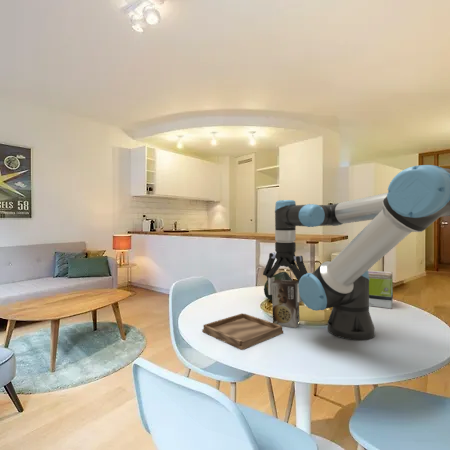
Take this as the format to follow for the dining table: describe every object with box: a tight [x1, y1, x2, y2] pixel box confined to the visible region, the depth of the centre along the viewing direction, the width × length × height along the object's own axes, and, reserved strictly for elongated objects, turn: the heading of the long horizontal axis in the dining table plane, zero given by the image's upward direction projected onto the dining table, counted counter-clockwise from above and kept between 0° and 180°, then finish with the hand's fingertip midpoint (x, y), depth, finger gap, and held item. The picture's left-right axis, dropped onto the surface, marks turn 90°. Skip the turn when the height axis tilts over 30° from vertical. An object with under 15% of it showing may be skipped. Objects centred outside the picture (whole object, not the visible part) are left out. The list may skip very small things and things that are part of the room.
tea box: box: [368, 270, 394, 309], centre depth 137 cm, size 15×10×15 cm
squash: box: [263, 271, 293, 301], centre depth 145 cm, size 14×15×15 cm
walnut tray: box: [201, 313, 284, 351], centre depth 105 cm, size 20×20×2 cm
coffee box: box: [271, 279, 301, 329], centre depth 113 cm, size 9×6×16 cm
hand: (285, 297), depth 113 cm, fingers open, 13 cm apart
